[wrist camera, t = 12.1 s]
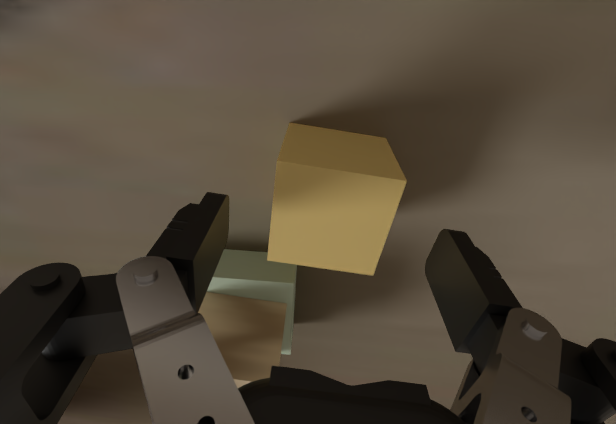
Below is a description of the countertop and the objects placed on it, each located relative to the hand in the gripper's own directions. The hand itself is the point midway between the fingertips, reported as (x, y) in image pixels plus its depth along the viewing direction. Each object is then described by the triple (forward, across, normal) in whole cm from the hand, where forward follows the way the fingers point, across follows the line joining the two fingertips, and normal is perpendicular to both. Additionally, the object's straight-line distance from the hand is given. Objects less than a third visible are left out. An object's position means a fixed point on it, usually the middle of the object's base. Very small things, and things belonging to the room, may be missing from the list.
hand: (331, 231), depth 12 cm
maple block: (+4, +4, +11) cm, 12 cm away
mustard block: (+6, 0, +1) cm, 6 cm away
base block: (+6, +4, +10) cm, 13 cm away
